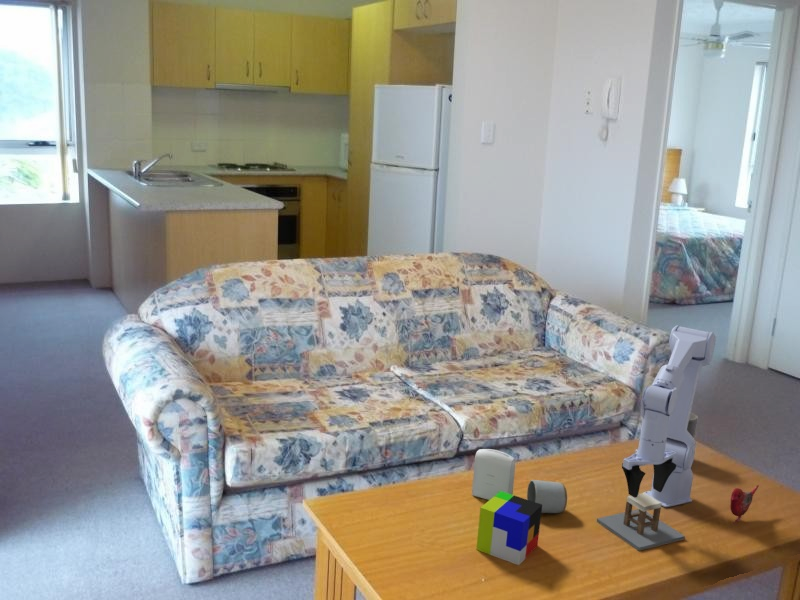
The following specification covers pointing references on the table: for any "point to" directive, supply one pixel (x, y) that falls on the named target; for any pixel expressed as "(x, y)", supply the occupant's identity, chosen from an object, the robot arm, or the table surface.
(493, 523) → the puzzle toy
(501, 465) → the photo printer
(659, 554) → the table surface
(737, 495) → the decorative bird figurine
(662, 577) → the table surface
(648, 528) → the mat
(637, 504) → the stool
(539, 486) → the ceramic mug
